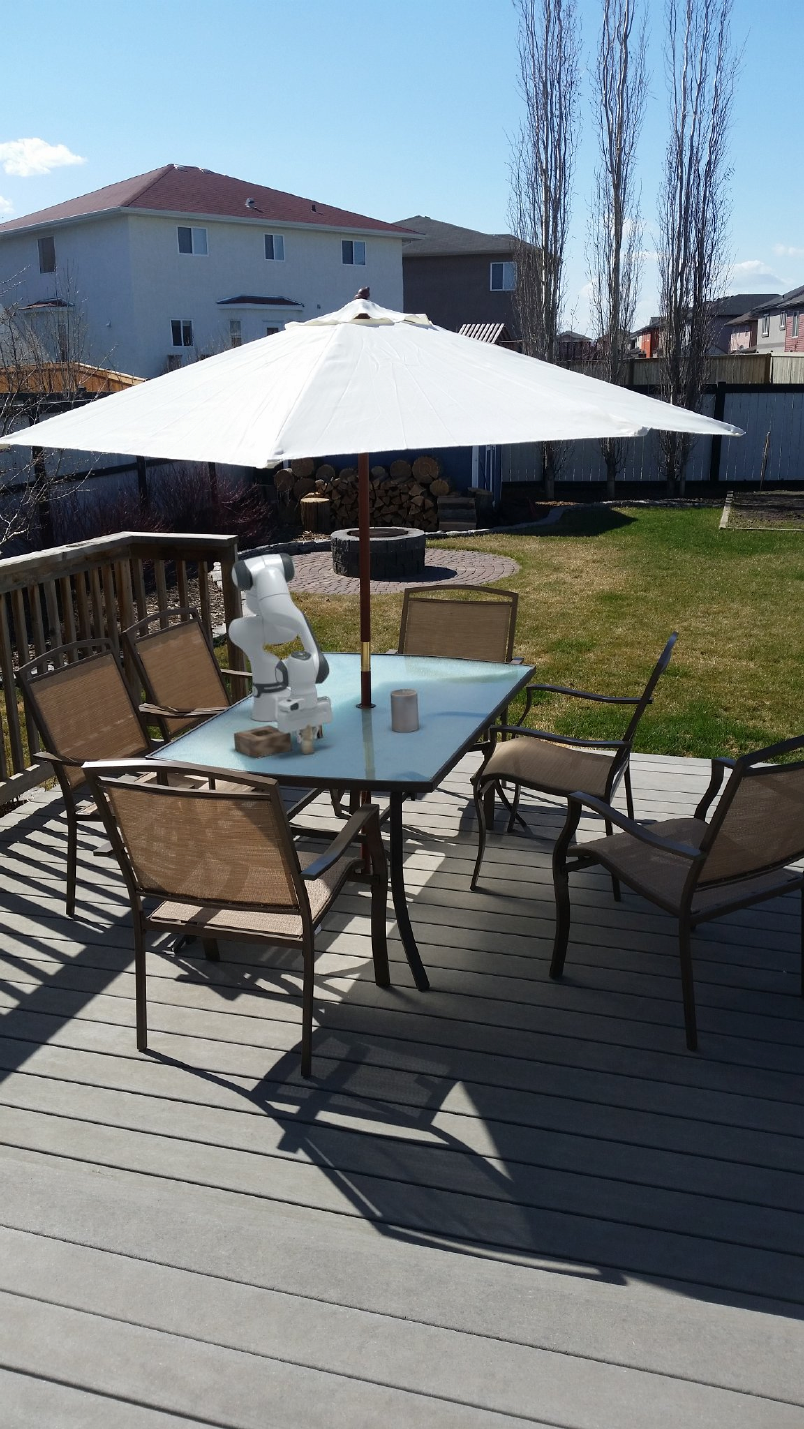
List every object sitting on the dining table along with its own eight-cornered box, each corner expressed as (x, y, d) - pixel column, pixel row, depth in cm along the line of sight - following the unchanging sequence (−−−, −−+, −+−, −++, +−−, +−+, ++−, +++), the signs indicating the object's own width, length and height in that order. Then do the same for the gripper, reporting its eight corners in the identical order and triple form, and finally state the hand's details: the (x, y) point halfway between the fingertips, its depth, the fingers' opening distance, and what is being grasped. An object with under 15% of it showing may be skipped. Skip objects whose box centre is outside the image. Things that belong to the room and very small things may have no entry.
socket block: (270, 741, 374) (269, 725, 372) (291, 749, 363) (290, 732, 362) (235, 750, 366) (233, 733, 364) (255, 758, 355) (254, 741, 353)
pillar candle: (395, 725, 388) (393, 685, 384) (421, 725, 386) (419, 685, 382) (389, 733, 379) (387, 692, 375) (416, 733, 377) (414, 692, 373)
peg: (309, 749, 362) (307, 721, 359) (316, 752, 359) (314, 723, 356) (299, 752, 359) (297, 723, 357) (306, 754, 356) (304, 726, 354)
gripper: (324, 693, 363) (327, 732, 366) (273, 704, 351) (276, 744, 354) (335, 696, 358) (337, 736, 362) (283, 708, 346) (286, 748, 350)
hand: (306, 740), depth 358 cm, fingers closed on peg, 4 cm apart
